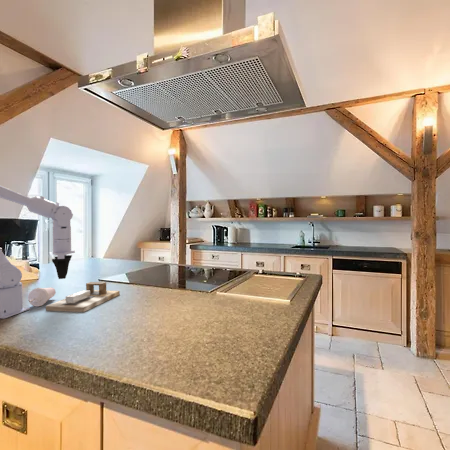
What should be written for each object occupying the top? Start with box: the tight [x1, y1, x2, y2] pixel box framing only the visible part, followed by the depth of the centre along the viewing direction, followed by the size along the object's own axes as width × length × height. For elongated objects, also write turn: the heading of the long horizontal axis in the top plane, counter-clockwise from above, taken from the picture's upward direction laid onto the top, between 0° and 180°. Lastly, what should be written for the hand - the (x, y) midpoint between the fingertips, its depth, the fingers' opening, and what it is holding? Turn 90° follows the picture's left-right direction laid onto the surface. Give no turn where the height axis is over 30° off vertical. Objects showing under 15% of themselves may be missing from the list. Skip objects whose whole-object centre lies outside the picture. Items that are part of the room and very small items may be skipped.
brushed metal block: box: [65, 290, 90, 303], centre depth 103 cm, size 9×3×2 cm, turn 170°
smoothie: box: [27, 287, 57, 307], centre depth 105 cm, size 6×6×14 cm
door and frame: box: [45, 281, 121, 313], centre depth 107 cm, size 22×14×6 cm, turn 170°
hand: (62, 276), depth 106 cm, fingers open, 7 cm apart
